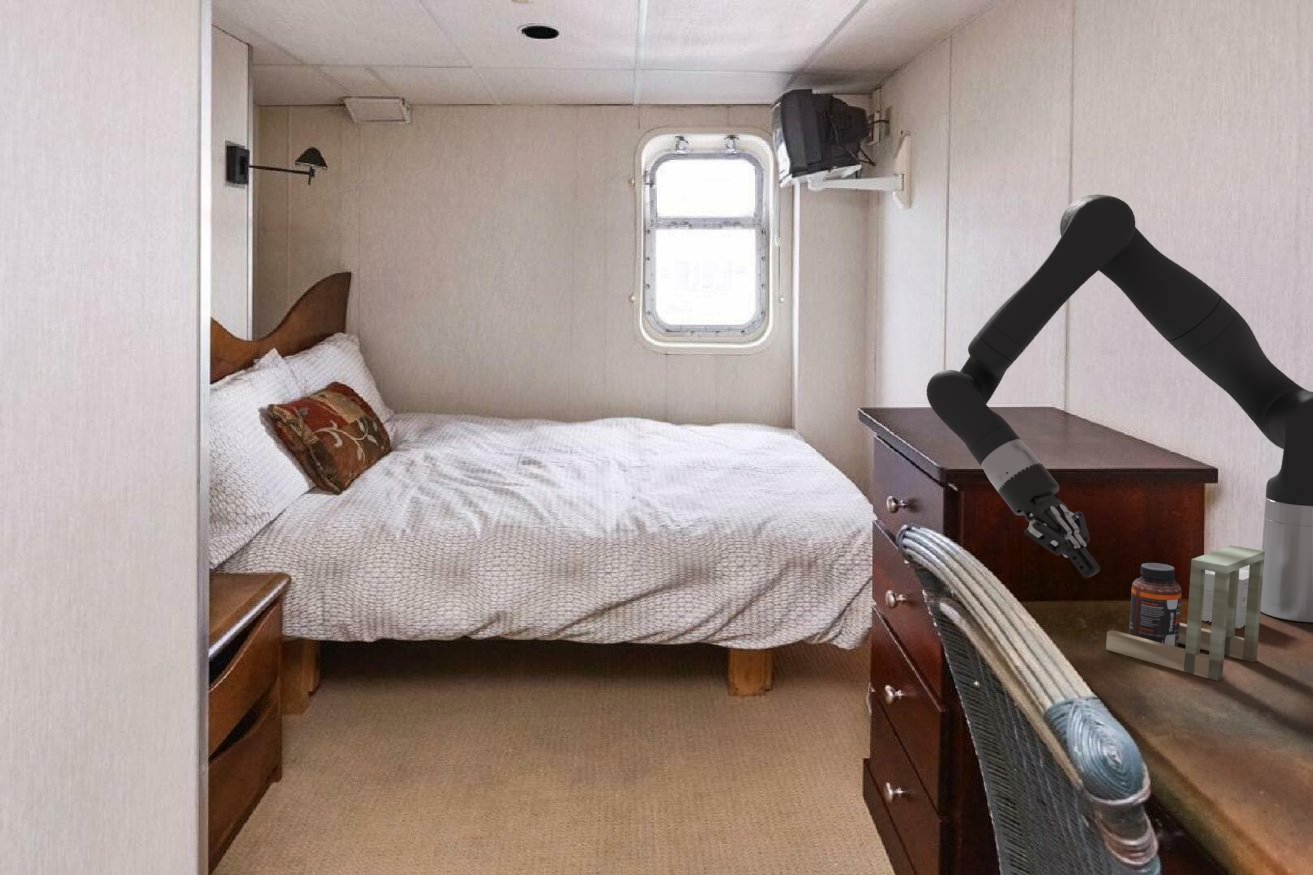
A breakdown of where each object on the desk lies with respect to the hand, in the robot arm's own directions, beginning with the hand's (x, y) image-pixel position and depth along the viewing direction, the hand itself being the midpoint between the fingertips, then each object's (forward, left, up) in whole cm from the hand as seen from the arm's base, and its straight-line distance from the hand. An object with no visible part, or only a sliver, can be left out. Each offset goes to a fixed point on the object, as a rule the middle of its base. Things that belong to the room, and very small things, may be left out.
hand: (1093, 574), depth 133 cm
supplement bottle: (0, +9, -9) cm, 12 cm away
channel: (0, +12, -8) cm, 15 cm away
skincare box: (-20, +10, -9) cm, 24 cm away
